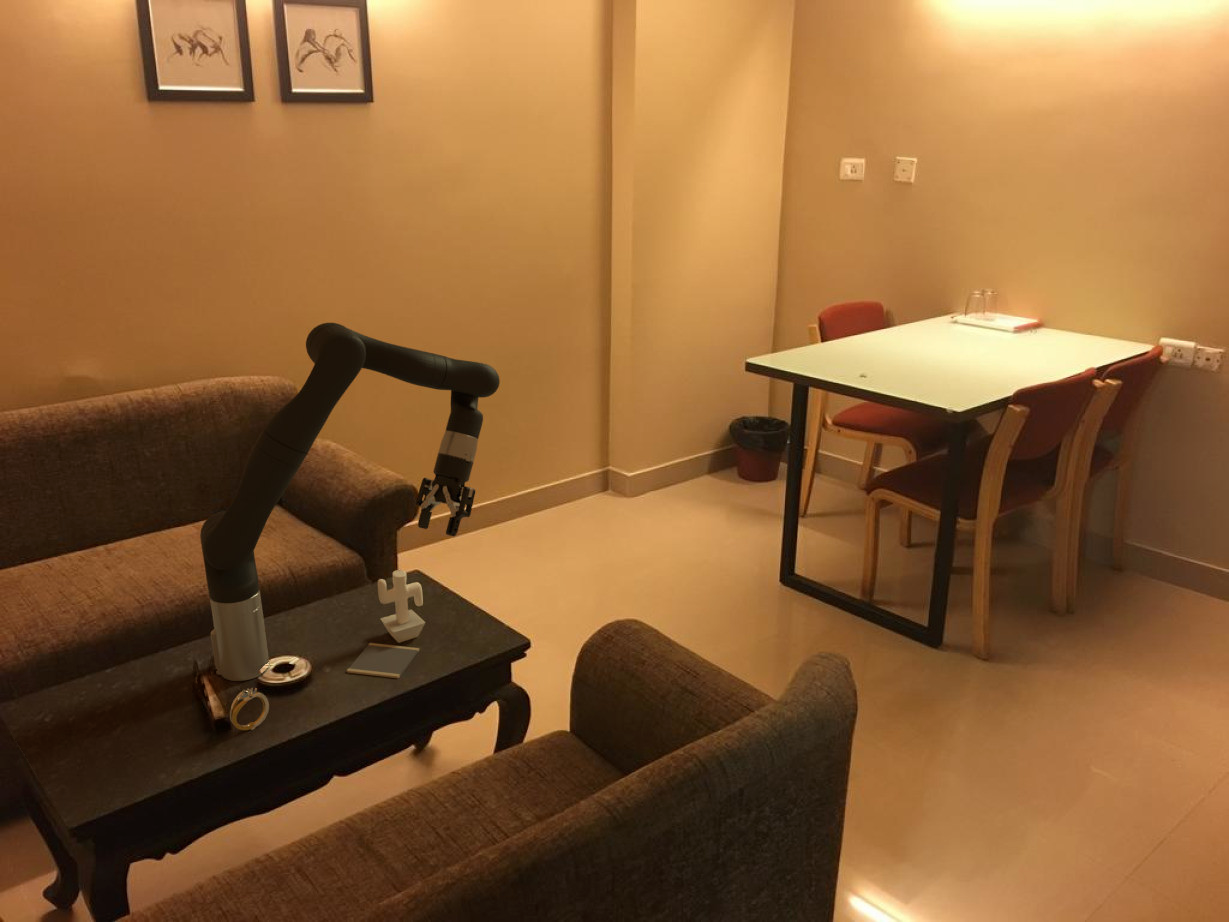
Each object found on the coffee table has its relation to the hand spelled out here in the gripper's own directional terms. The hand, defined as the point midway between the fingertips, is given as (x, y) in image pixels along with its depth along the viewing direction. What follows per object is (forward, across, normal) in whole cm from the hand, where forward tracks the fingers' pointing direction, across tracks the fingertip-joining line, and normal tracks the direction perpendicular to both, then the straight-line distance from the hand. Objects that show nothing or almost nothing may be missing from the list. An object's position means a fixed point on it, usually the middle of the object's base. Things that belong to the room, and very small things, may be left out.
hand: (436, 531), depth 202 cm
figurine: (+24, -9, +7) cm, 26 cm away
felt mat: (+28, -4, -1) cm, 28 cm away
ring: (+42, -4, -28) cm, 51 cm away
